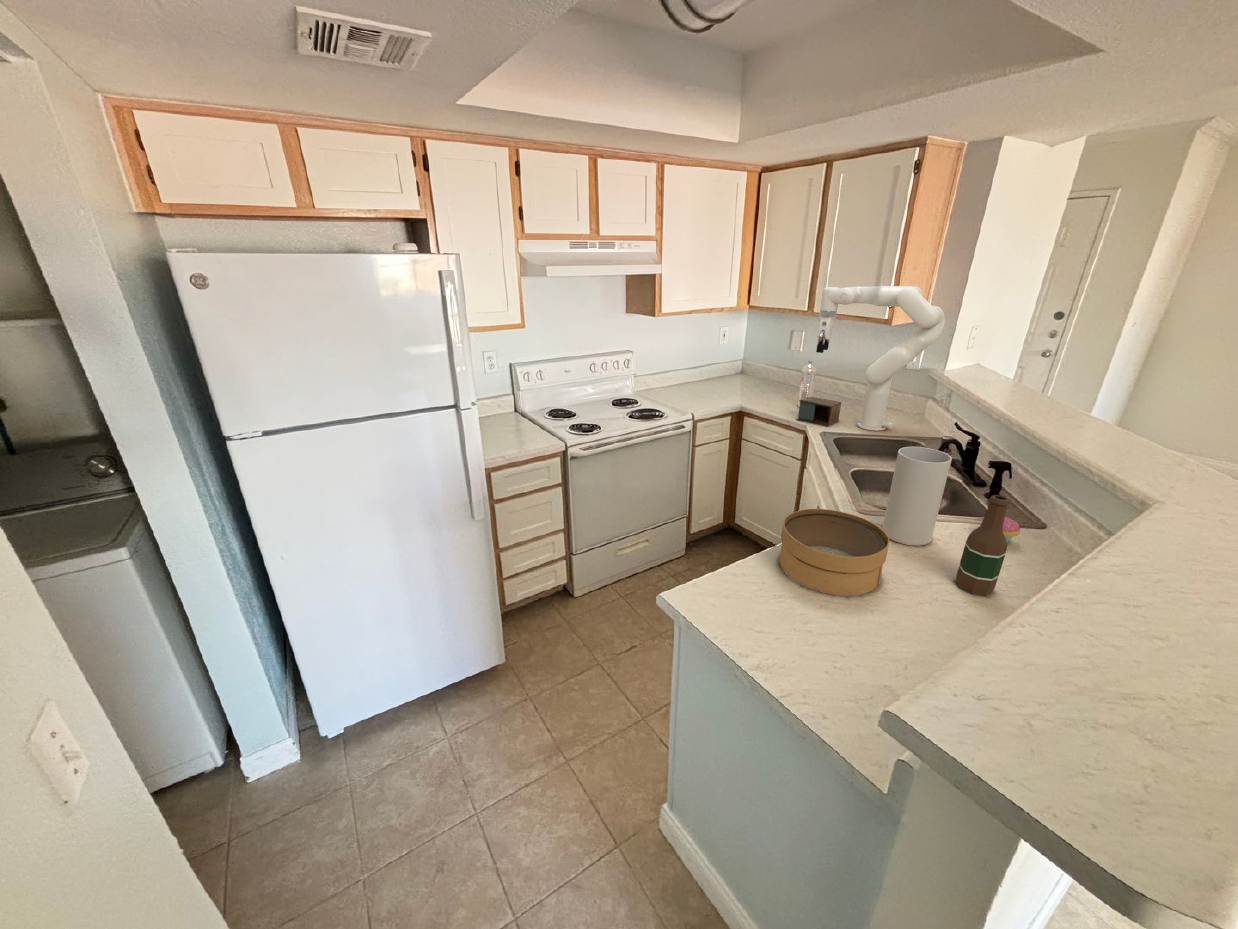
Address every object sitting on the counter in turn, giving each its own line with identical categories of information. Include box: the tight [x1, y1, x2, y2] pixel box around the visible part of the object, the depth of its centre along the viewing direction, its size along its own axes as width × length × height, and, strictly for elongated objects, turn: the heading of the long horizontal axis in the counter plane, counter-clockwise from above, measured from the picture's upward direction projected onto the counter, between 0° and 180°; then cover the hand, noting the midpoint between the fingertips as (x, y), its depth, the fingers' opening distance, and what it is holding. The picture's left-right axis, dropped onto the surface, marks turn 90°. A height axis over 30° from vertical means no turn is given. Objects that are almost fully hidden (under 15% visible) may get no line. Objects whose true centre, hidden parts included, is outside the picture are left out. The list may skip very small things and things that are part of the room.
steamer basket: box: [779, 508, 890, 597], centre depth 127 cm, size 25×25×11 cm
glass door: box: [797, 391, 816, 421], centre depth 247 cm, size 1×8×14 cm, turn 44°
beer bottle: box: [955, 494, 1011, 597], centre depth 117 cm, size 8×8×24 cm
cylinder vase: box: [881, 446, 953, 547], centre depth 140 cm, size 12×12×25 cm
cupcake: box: [1003, 516, 1021, 543], centre depth 139 cm, size 9×8×12 cm
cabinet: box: [796, 396, 842, 428], centre depth 248 cm, size 12×16×10 cm
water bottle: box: [797, 360, 817, 408], centre depth 269 cm, size 7×7×25 cm
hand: (822, 351), depth 243 cm, fingers open, 9 cm apart
